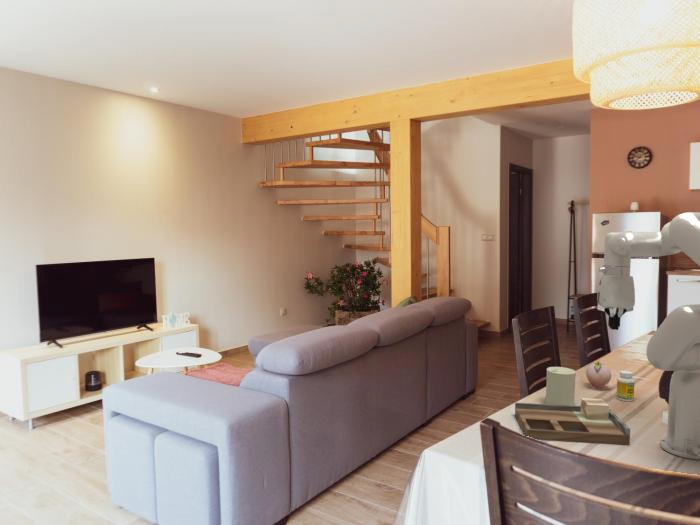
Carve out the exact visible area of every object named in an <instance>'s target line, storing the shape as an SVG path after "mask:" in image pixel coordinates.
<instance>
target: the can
mask: <svg viewBox="0 0 700 525" xmlns="http://www.w3.org/2000/svg"><path fill="white" fill-rule="evenodd" d="M576 375H577V371H576V370H574V369H573V368H570V367H569V368H568V367H565V366H564V367H562V366H549V367H547V368H546V385H545V386H546V388H545V389H546V390H545V403H544V404H551V405H570V406H576V405H575V394H576V391H575V390H576Z"/></svg>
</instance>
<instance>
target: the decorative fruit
mask: <svg viewBox="0 0 700 525" xmlns="http://www.w3.org/2000/svg"><path fill="white" fill-rule="evenodd" d="M585 374H586V378H587V381H588V382H589V383H590V384H591V386H592V387H594V388H595V389H598V388H601V387H605V386H606V385H608V384H609V382H611V379H612V373H611V371H610V369H609V368H608V366H606V365H603V364H602V363H600V361H597V362H595V363H592V364H590V365H589V366H588V367H587V368H586V371H585Z"/></svg>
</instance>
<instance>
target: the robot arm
mask: <svg viewBox="0 0 700 525" xmlns="http://www.w3.org/2000/svg"><path fill="white" fill-rule="evenodd" d="M603 252H604V254H603V255H604V256H603V265H602V267H599V268H598V272H600V273H601V272H602V274H601V275H600V279H599V282H598V289H597V295H596V296H597V297H596V301H597V302H596V303H597V306H596V310H598V311H602V312H604V313H605V314H606V315H607V316H608V323H607V324H608V327H609V329H610V330H613V331H614V330H616V331H617V330H619V328H620V326H621V318H623V316H624V315H625V313H628V312H633V311H634V307H635V304H636V292H635V291H636V290H635V281H634V277H633V276H631V262H632V261H631V260H632V259H631V258H645V257H646V258H654V257H655V258H657V257H662V256H663V257H664V256H670V255H676V254H679V253H681V252H683V253H684V254H685V255H686V256H687V257H688V258H689V259H691V260H692V261H693V262H694V263H695V264H697V265H698V266H699V267H700V211H699V212H698V211H697V212H695V211H694V212H691V211H689V212H688V211H687V212H683V213H680V214H677V215H676V216H675V217H673V218H672V220H670V221H669V222H666V223H665V224H664V225H663V227H662V228H661V230H660V231H626V232H624V231H623V232H621V231H619V232H618V231H616V232H614V231H613V232H611V231H610V232H607V233H606V234H605V236H604V251H603ZM614 309H615V311H614ZM646 358H647V361H648V362H649V363H650V365H652V367H653V368H655V369H658V370H660V371H666V372H668V371H669V372H672V371H673V373H672V375H671V378H670V383H669V394H668V413H667V427H666V431H667V432H666V437H663V438H660V441H659V446H660V448H661V449H663V450H664V451H666V452H668V453H670V454H673V455H675V456H677V457H681V458H686V459H689V460H698V461H699V460H700V304H698V303H697V304H685V305H680V306H678V307H676V308H674V309H673V310H672V311H670V312H669V313H668V315H667V316H666V317H665V318H664V320H663V321H662V323H661V324H660V325H659V326H658V328H657V329H656V330H655V332H654V333H653V334H652V336H651V337H650V339H649V340H648V342H647V346H646Z"/></svg>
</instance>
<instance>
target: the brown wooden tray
mask: <svg viewBox="0 0 700 525" xmlns="http://www.w3.org/2000/svg"><path fill="white" fill-rule="evenodd" d="M514 404H515V406H514V407H515V408H514V417H515V419H516V420H517V422H518V423H519V426H520V428H521V430H522V432H523V433H524V436H525V437H526V436H529V437H532V438H535V439H534V440H541V441H556V442H557V441H559V442H576V443H592V444H593V443H594V444H609V445H627V446H628V445H629V446H630V445H631V444H630V441H631V428H630V427H629V426H628V425H627V424H626V423H625V422H624V421H623V420H622V419H621V418H620V417H618V415H616V414H615V413H614V411H612V410H611V408H609V419H608V421H605V420H587V419H586V418H585V417H584V416H583V415H582V414H581V405H575V406H570V405H551V404H546V403H529V402H515V403H514Z"/></svg>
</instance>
